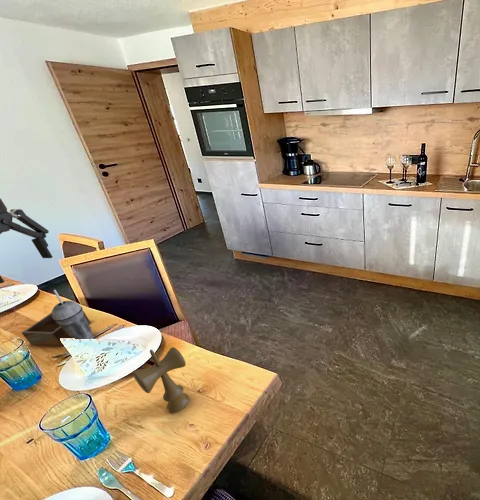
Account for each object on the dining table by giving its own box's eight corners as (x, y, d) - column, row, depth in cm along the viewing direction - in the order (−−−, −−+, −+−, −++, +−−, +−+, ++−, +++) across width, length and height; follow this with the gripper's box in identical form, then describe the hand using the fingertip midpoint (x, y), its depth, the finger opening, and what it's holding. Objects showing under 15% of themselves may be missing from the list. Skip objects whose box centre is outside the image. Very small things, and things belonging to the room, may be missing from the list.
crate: (31, 345, 96) (21, 332, 94) (62, 322, 106) (54, 310, 103) (61, 346, 95) (52, 333, 93) (90, 322, 105) (83, 310, 102)
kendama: (154, 413, 73) (121, 358, 64) (191, 384, 80) (166, 331, 71) (165, 426, 70) (132, 370, 61) (202, 396, 77) (178, 341, 67)
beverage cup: (70, 351, 93) (35, 302, 84) (72, 338, 98) (40, 290, 89) (98, 340, 97) (67, 292, 87) (99, 328, 102) (70, 282, 93)
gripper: (-74, 219, 64) (-14, 295, 74) (40, 186, 86) (74, 249, 96) (-103, 218, 65) (-39, 294, 75) (17, 186, 86) (54, 248, 97)
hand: (25, 269), depth 85 cm, fingers open, 13 cm apart
